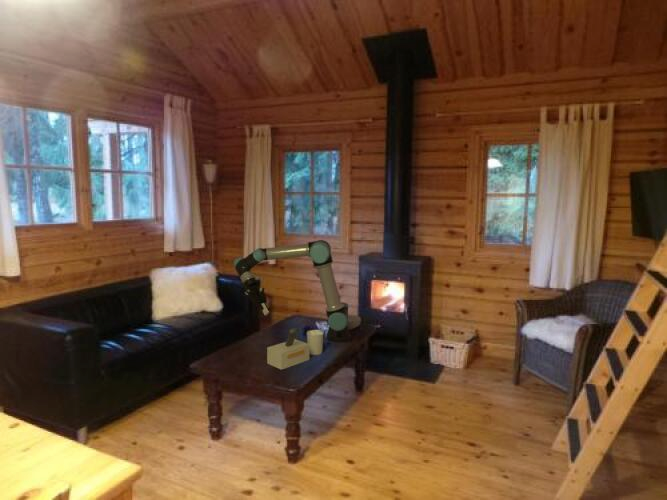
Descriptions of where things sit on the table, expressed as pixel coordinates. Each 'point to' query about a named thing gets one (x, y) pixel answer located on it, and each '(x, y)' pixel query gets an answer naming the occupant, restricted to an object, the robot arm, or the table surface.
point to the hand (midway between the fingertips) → (266, 313)
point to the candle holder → (315, 341)
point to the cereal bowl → (353, 321)
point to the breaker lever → (291, 336)
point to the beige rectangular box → (287, 354)
